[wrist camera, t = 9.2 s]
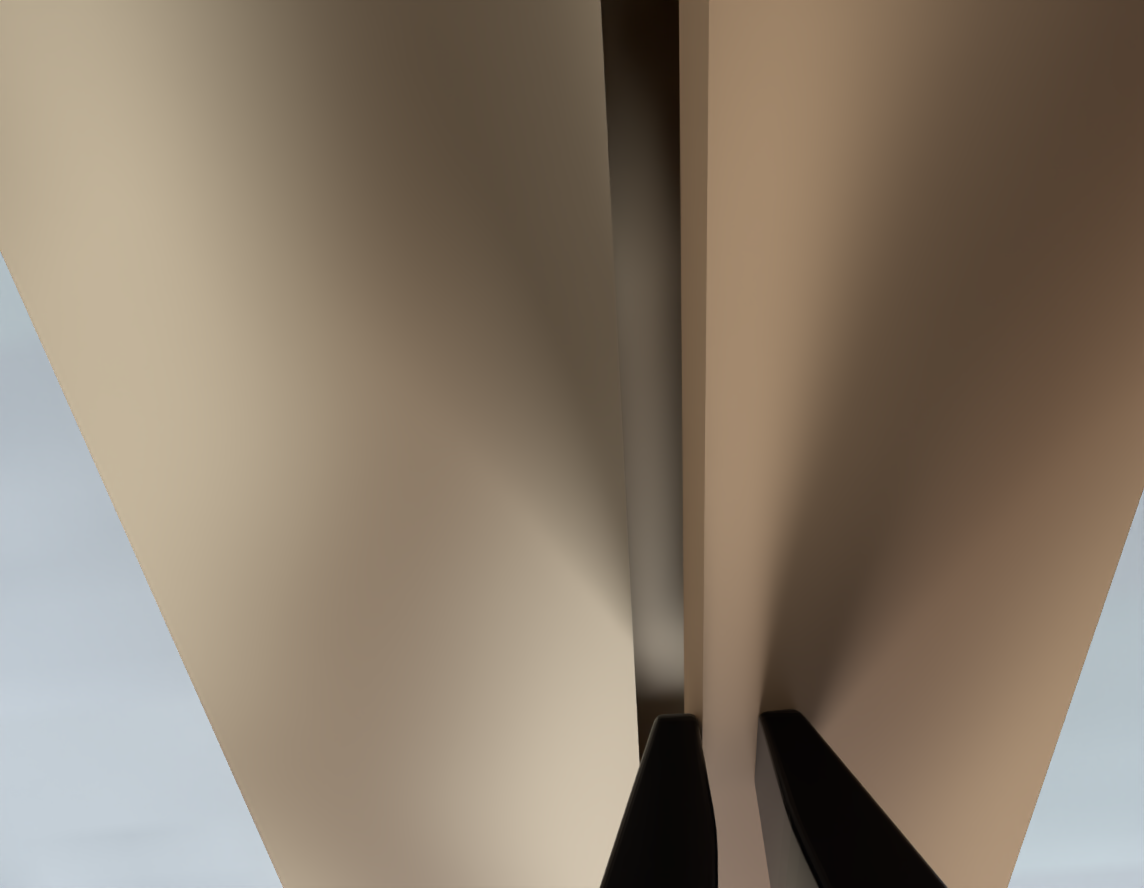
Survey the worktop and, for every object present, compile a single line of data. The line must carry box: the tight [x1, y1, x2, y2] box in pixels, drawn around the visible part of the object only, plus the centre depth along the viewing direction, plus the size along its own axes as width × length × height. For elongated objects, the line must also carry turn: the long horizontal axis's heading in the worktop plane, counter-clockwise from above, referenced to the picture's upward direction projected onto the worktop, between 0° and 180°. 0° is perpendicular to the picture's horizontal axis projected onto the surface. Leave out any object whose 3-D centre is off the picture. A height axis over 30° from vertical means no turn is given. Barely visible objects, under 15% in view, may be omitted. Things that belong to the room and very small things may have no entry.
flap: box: [679, 0, 1144, 888], centre depth 8 cm, size 4×14×1 cm, turn 4°
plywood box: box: [0, 0, 684, 888], centre depth 11 cm, size 10×15×4 cm, turn 4°
